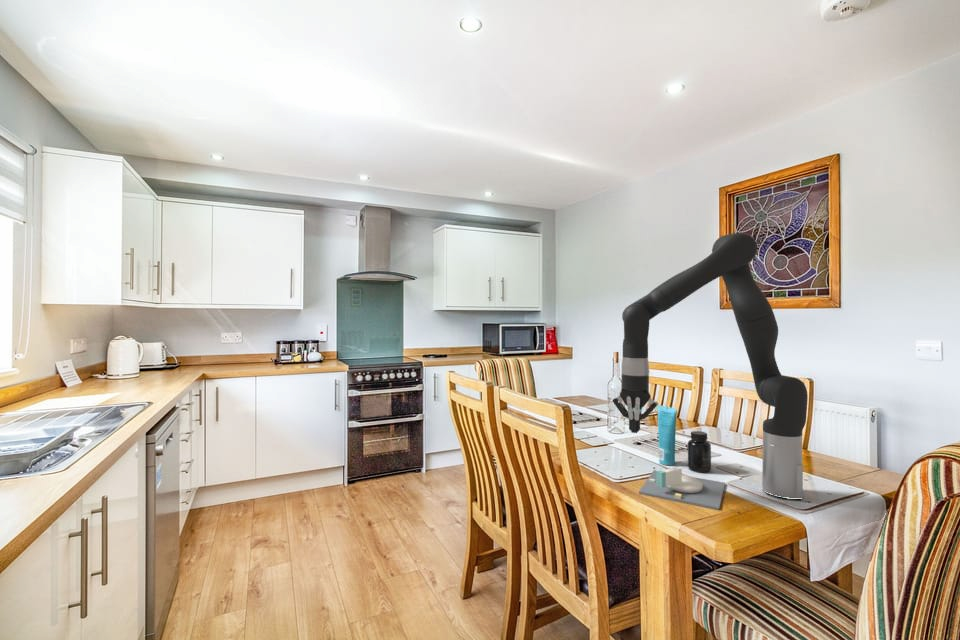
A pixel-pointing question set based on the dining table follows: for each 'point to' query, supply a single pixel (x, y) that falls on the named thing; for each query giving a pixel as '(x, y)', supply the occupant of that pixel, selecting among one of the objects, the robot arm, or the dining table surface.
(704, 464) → the supplement bottle
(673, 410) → the tube
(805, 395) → the robot arm
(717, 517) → the dining table surface
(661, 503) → the dining table surface
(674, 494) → the dial board
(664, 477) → the dial
